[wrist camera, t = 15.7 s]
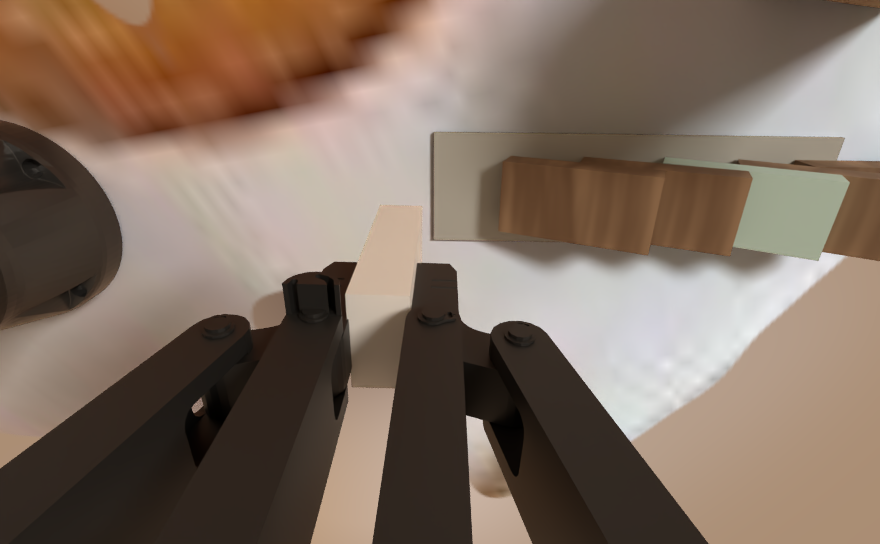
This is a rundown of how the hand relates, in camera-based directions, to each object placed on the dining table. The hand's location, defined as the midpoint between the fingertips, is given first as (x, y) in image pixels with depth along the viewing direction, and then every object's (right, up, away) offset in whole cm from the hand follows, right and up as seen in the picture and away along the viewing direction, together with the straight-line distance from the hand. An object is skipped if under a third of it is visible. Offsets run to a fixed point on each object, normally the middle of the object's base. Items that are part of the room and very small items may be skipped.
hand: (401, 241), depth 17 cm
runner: (+15, +5, +17) cm, 23 cm away
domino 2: (+11, +4, +16) cm, 20 cm away
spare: (+17, +4, +16) cm, 23 cm away
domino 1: (+6, +4, +16) cm, 18 cm away
